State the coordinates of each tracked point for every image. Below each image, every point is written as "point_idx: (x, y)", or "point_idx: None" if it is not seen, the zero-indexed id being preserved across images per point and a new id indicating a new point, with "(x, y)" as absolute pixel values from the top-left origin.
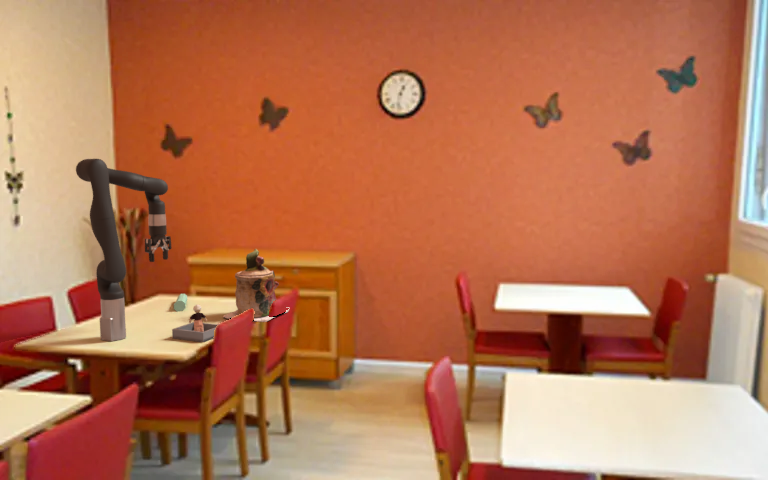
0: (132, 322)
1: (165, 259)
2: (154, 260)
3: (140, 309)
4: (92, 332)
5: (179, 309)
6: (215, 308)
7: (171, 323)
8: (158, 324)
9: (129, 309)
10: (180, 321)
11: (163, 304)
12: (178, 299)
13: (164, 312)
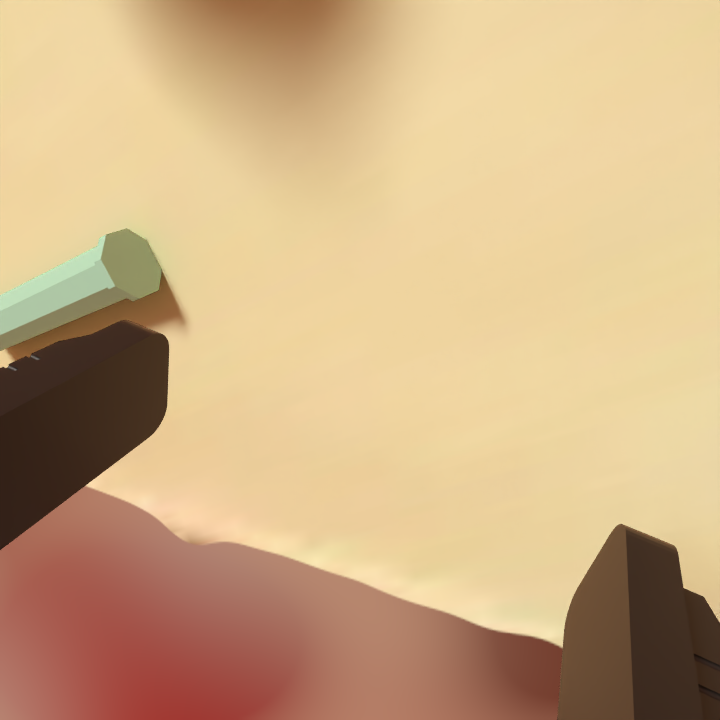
0: (442, 416)
1: (166, 363)
2: (622, 539)
3: (184, 463)
4: (707, 552)
5: (147, 260)
6: (30, 61)
7: (442, 160)
8: (478, 240)
9: (198, 508)
10: (378, 121)
11: None
12: (68, 304)
13: (200, 329)
